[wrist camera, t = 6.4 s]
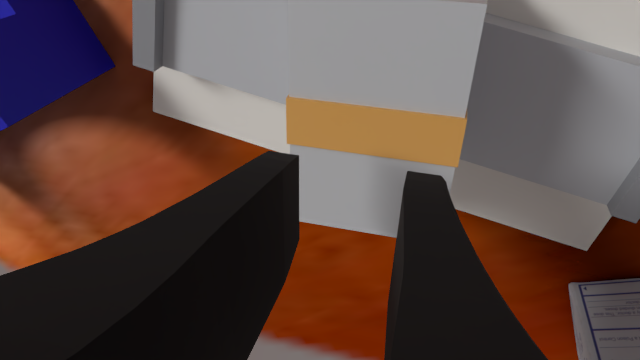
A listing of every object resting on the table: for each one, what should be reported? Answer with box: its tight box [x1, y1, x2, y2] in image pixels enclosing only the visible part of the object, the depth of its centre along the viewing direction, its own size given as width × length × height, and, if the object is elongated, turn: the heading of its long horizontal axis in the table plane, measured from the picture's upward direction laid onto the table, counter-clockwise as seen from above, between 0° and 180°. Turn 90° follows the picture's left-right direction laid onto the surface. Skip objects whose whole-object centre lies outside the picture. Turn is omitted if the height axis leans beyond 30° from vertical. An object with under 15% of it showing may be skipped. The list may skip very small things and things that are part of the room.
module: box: [286, 0, 487, 238], centre depth 14 cm, size 4×6×5 cm
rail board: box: [132, 0, 640, 251], centre depth 16 cm, size 18×10×2 cm, turn 77°
